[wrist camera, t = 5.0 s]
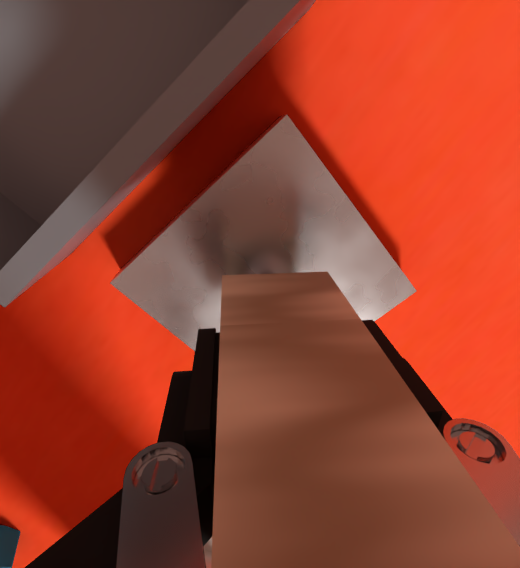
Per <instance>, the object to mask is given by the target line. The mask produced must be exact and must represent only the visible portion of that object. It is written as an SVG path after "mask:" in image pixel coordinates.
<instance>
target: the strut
mask: <svg viewBox="0 0 520 568" xmlns="http://www.w3.org/2000/svg"><path fill="white" fill-rule="evenodd" d="M211 568H520V546H519V545H518V543H517V542H516V541H515V539H514V538H513V536H512V535H511V533H510V532H509V531H508V529H507V528H506V526H505V525H504V523H503V522H502V521H501V519H500V518H499V516H498V515H497V513H496V512H495V511H494V509H493V508H492V506H491V505H490V503H489V502H488V501H487V499H486V498H485V496H484V495H483V493H482V492H481V491H480V489H479V488H478V486H477V485H476V483H475V482H474V480H473V479H472V478H471V476H470V475H469V473H468V472H467V470H466V469H465V468H464V466H463V465H462V463H461V462H460V460H459V459H458V458H457V456H456V455H455V453H454V452H453V450H452V449H451V448H450V446H449V445H448V443H447V442H446V440H445V439H444V438H443V436H442V435H441V433H440V432H439V430H438V429H437V428H436V426H435V425H434V423H433V422H432V420H431V419H430V418H429V416H428V415H427V413H426V412H425V410H424V409H423V408H422V406H421V405H420V403H419V402H418V400H417V399H416V397H415V396H414V395H413V393H412V392H411V390H410V389H409V387H408V386H407V385H406V383H405V382H404V380H403V379H402V377H401V376H400V375H399V373H398V372H397V370H396V369H395V367H394V366H393V365H392V363H391V362H390V360H389V359H388V357H387V356H386V355H385V353H384V352H383V350H382V349H381V347H380V346H379V345H378V343H377V342H376V340H375V339H374V337H373V336H372V335H371V333H370V332H369V330H368V329H367V327H366V326H365V324H364V323H363V322H362V320H361V319H360V317H359V316H358V314H357V313H356V312H355V310H354V309H353V307H352V306H351V304H350V303H349V302H348V300H347V299H346V297H345V296H344V294H343V293H342V292H341V290H340V289H339V287H338V286H337V284H336V283H335V282H334V280H333V279H332V277H331V276H330V274H329V273H328V272H301V273H274V274H246V275H222V291H221V318H220V344H219V371H218V398H217V425H216V452H215V479H214V506H213V533H212V560H211Z"/></svg>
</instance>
